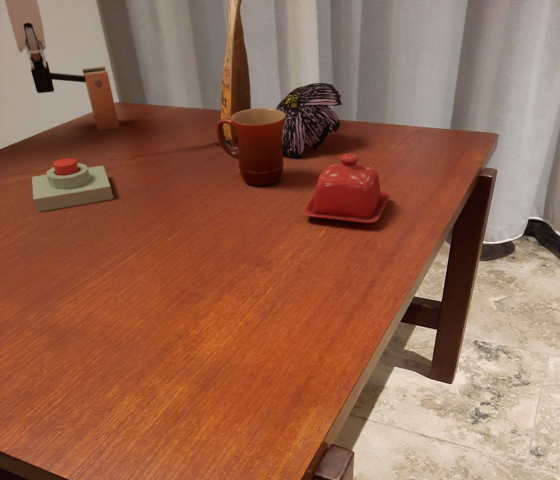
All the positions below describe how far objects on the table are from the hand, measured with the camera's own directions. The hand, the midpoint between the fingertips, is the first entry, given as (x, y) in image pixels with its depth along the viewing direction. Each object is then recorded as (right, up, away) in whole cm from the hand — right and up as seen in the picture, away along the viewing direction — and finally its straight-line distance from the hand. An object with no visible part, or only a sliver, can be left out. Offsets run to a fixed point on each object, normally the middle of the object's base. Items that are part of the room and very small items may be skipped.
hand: (45, 87), depth 108 cm
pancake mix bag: (+38, -7, +6) cm, 39 cm away
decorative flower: (+51, -12, -2) cm, 52 cm away
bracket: (+10, -5, +9) cm, 14 cm away
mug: (+41, -23, -13) cm, 49 cm away
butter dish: (+56, -31, -24) cm, 69 cm away
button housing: (+11, -26, -15) cm, 32 cm away
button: (+11, -23, -18) cm, 31 cm away
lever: (+5, +1, +1) cm, 5 cm away
